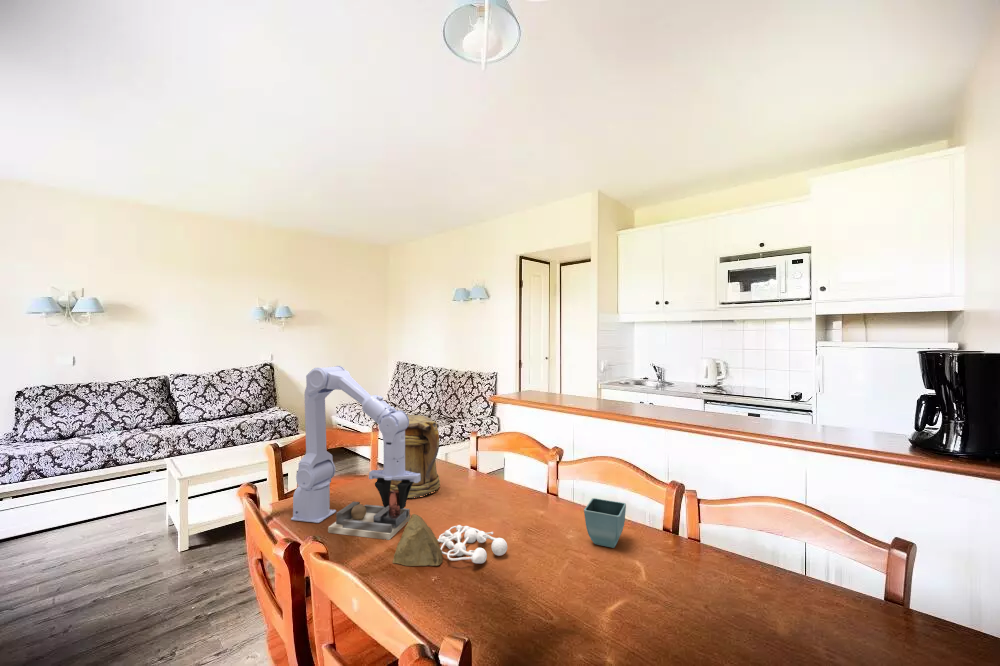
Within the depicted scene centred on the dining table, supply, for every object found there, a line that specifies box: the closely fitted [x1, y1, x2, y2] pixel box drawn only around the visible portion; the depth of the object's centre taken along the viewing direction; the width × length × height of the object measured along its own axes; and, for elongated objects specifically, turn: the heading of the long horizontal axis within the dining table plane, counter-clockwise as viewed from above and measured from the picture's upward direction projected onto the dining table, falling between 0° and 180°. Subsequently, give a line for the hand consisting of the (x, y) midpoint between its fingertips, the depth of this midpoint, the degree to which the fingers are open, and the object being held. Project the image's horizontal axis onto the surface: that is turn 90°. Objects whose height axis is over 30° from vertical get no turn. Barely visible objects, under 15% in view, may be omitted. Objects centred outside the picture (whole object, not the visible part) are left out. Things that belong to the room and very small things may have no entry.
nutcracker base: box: [327, 501, 411, 541], centre depth 112 cm, size 18×12×4 cm, turn 76°
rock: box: [392, 513, 444, 567], centre depth 93 cm, size 11×9×10 cm
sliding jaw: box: [374, 490, 406, 528], centre depth 110 cm, size 6×8×8 cm
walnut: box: [351, 503, 366, 520], centre depth 112 cm, size 4×4×4 cm
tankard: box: [390, 414, 441, 499], centre depth 138 cm, size 18×24×25 cm
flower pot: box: [583, 497, 627, 549], centre depth 102 cm, size 9×9×9 cm
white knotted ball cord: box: [437, 524, 508, 565], centre depth 99 cm, size 19×14×4 cm
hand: (394, 506), depth 110 cm, fingers open, 4 cm apart
